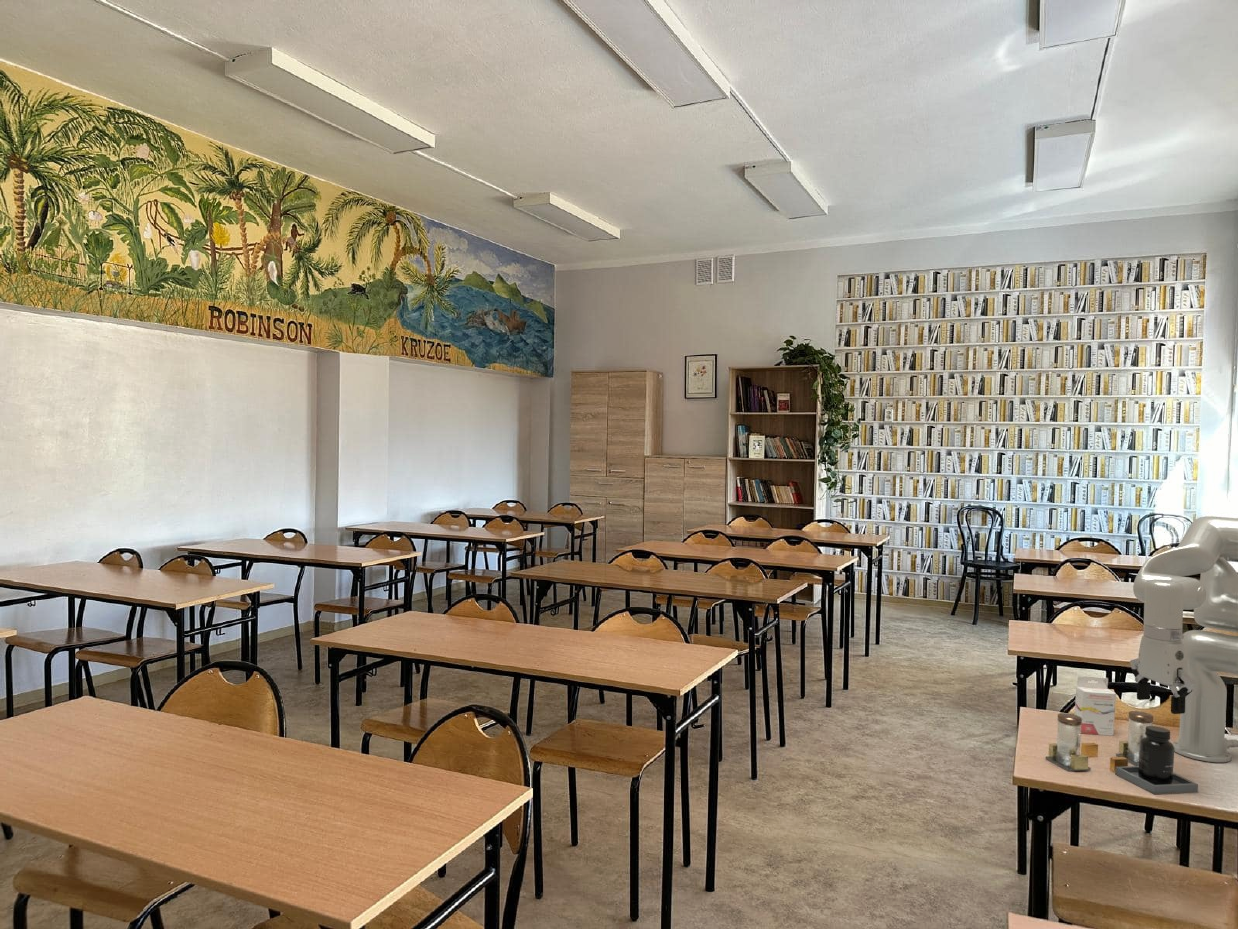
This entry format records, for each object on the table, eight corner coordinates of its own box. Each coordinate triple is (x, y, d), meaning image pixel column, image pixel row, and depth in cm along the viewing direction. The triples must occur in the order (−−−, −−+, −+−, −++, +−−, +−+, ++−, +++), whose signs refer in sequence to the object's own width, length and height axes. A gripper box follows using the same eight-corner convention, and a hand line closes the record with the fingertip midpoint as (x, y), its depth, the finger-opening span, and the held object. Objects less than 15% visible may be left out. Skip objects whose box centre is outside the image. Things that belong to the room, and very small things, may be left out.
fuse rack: (1131, 753, 212) (1134, 707, 212) (1167, 769, 201) (1169, 721, 201) (1041, 756, 208) (1043, 709, 207) (1072, 774, 197) (1075, 724, 196)
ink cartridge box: (1081, 734, 226) (1083, 680, 225) (1073, 728, 231) (1075, 675, 230) (1114, 736, 225) (1117, 682, 225) (1105, 730, 230) (1108, 677, 230)
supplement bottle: (1174, 788, 188) (1176, 736, 188) (1138, 781, 192) (1141, 730, 191) (1171, 778, 194) (1173, 727, 194) (1137, 772, 198) (1139, 722, 197)
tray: (1156, 772, 199) (1157, 765, 199) (1197, 792, 188) (1198, 784, 188) (1115, 774, 197) (1115, 767, 197) (1154, 794, 186) (1154, 786, 186)
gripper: (1209, 642, 184) (1206, 718, 185) (1146, 624, 201) (1144, 693, 202) (1180, 643, 183) (1177, 720, 184) (1119, 625, 200) (1117, 695, 201)
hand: (1160, 706), depth 193 cm, fingers open, 9 cm apart
